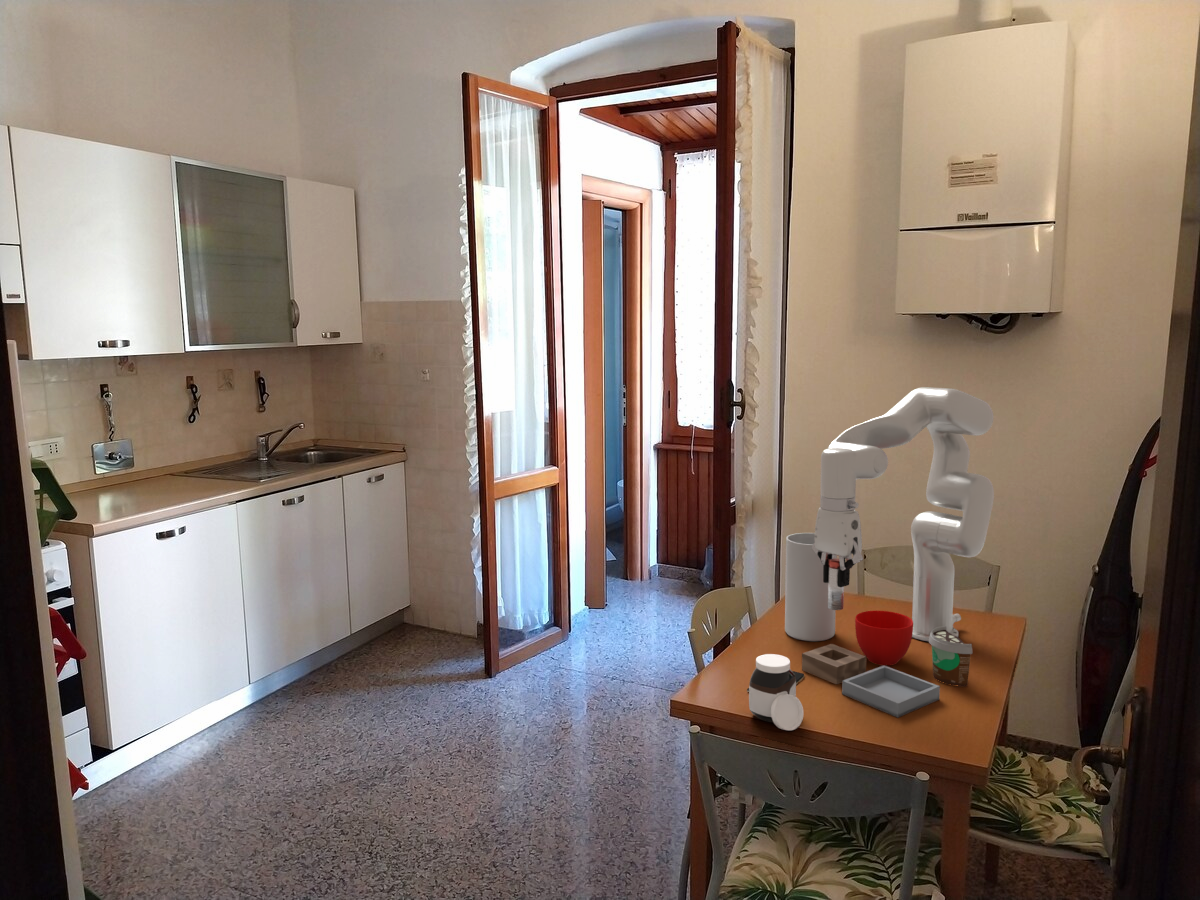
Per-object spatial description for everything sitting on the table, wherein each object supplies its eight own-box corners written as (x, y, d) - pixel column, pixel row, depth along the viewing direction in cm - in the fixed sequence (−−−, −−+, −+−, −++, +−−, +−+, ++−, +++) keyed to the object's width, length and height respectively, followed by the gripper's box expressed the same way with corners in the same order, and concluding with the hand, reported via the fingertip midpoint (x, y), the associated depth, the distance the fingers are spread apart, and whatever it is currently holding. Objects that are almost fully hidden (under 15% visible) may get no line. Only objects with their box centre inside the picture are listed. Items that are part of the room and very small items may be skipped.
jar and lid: (767, 701, 181) (768, 648, 179) (817, 716, 173) (818, 661, 172) (738, 721, 172) (738, 666, 170) (789, 738, 164) (790, 680, 163)
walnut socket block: (831, 659, 202) (831, 643, 202) (865, 673, 194) (866, 656, 193) (801, 670, 197) (802, 653, 196) (836, 684, 188) (836, 667, 188)
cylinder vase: (784, 640, 215) (785, 543, 212) (785, 623, 227) (786, 531, 224) (835, 644, 212) (837, 545, 209) (834, 626, 224) (836, 533, 221)
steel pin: (834, 604, 196) (835, 557, 194) (846, 608, 193) (847, 560, 191) (824, 607, 194) (825, 560, 192) (836, 611, 191) (837, 563, 189)
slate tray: (883, 678, 191) (883, 665, 191) (939, 699, 180) (939, 686, 180) (842, 694, 183) (842, 680, 183) (897, 717, 172) (898, 703, 172)
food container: (917, 668, 197) (919, 626, 195) (943, 666, 197) (945, 625, 196) (943, 690, 184) (945, 646, 183) (970, 689, 185) (972, 644, 183)
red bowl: (929, 655, 204) (930, 614, 203) (895, 675, 193) (897, 633, 191) (878, 641, 213) (879, 602, 212) (843, 660, 202) (844, 619, 200)
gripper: (879, 507, 185) (877, 589, 188) (820, 496, 199) (818, 572, 201) (856, 512, 181) (855, 596, 184) (797, 500, 194) (796, 578, 197)
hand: (836, 583), depth 192 cm, fingers closed on steel pin, 3 cm apart
